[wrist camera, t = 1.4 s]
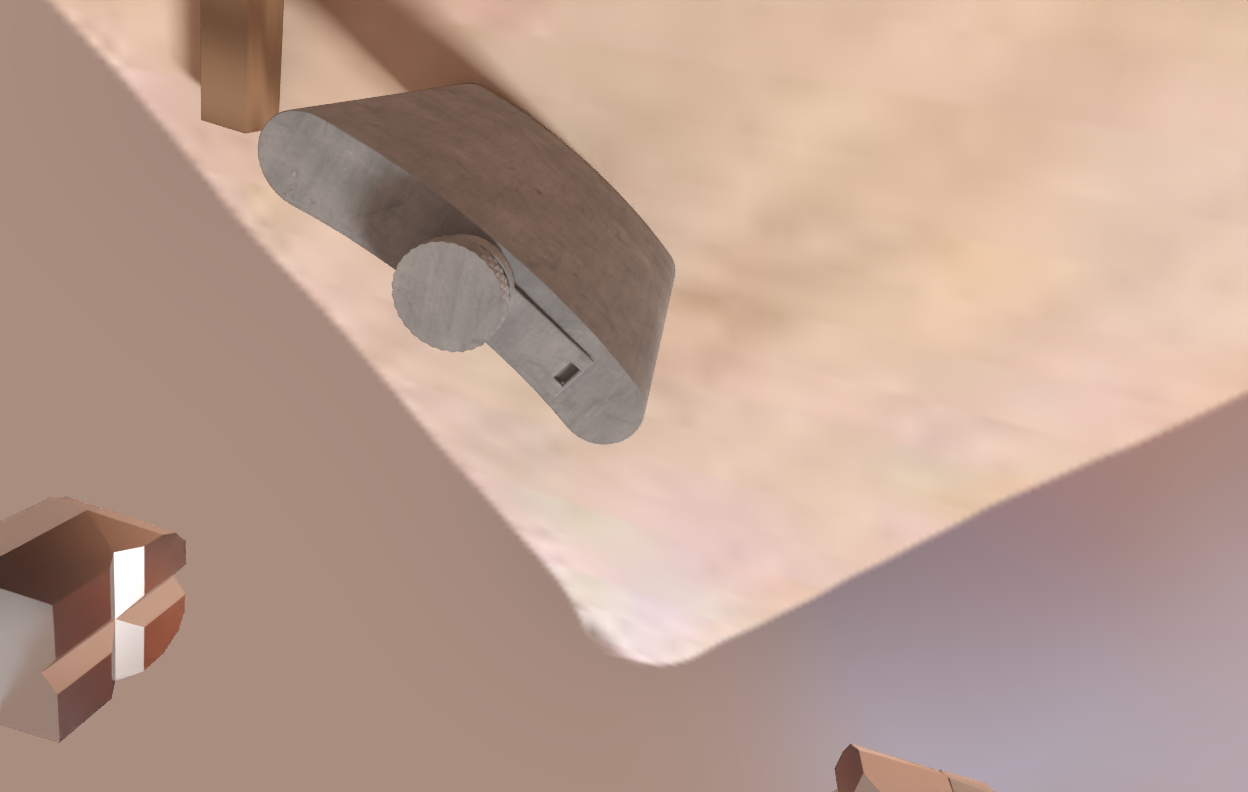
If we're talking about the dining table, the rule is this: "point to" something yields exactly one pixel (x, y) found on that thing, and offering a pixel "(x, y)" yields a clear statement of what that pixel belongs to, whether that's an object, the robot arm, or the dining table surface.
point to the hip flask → (490, 240)
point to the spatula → (241, 62)
